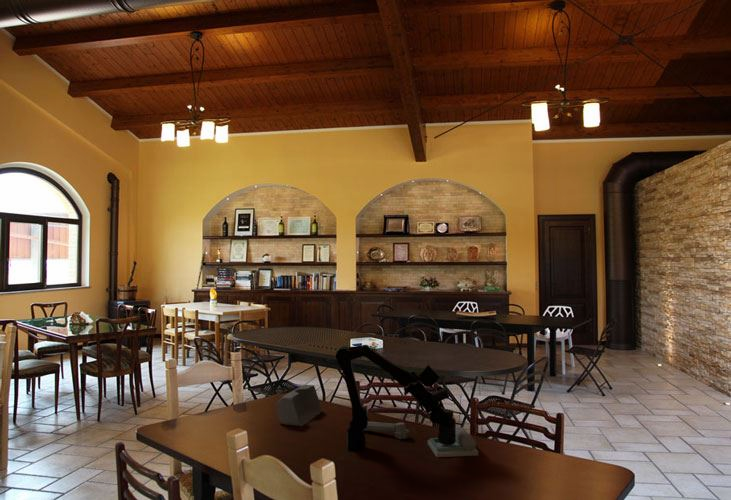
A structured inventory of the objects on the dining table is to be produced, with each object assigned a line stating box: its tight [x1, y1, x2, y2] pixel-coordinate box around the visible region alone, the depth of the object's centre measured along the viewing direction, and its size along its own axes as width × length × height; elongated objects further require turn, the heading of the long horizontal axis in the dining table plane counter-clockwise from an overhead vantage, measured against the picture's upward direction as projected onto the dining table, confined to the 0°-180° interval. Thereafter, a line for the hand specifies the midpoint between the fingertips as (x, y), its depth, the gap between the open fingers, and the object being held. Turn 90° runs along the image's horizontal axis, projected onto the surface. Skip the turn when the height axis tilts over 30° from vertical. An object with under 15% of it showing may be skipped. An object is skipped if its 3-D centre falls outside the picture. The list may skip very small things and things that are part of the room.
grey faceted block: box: [276, 384, 323, 427], centre depth 240 cm, size 25×16×12 cm, turn 162°
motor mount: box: [427, 426, 479, 458], centre depth 200 cm, size 16×14×6 cm
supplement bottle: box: [437, 408, 457, 445], centre depth 200 cm, size 7×7×12 cm
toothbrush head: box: [363, 421, 410, 440], centre depth 217 cm, size 5×7×25 cm
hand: (450, 424), depth 200 cm, fingers closed on supplement bottle, 7 cm apart
